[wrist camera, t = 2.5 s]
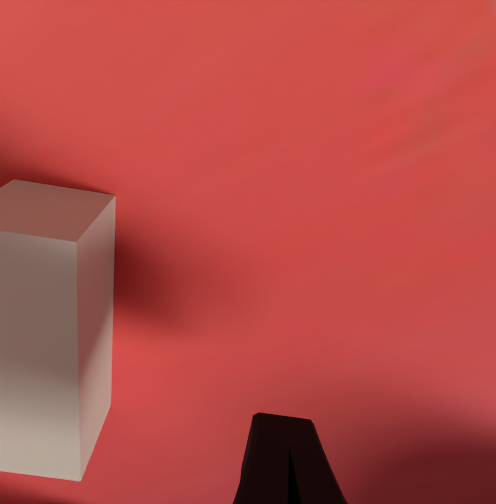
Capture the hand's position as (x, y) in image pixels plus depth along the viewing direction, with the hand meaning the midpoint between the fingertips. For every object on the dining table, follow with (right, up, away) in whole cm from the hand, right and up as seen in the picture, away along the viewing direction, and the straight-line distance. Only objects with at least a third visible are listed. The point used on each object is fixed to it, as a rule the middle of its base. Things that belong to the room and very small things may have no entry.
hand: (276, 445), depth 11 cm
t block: (-9, +3, +3) cm, 10 cm away
